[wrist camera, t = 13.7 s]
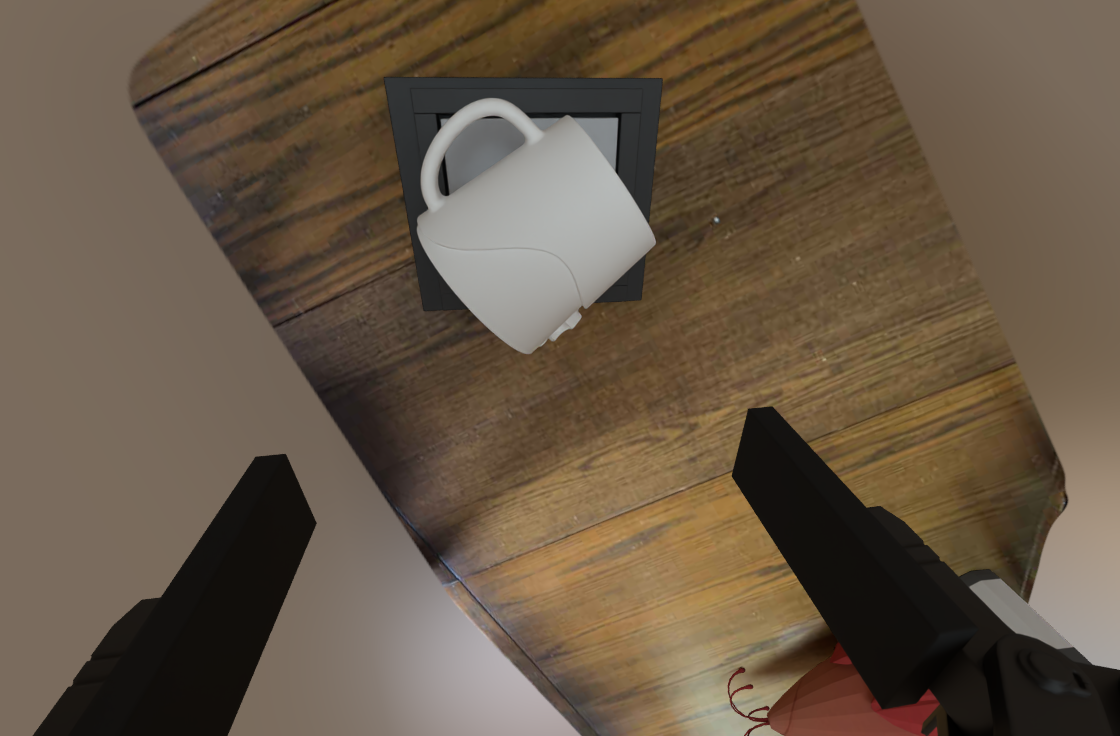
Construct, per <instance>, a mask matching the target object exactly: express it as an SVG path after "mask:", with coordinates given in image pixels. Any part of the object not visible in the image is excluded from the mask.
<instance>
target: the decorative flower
mask: <svg viewBox="0 0 1120 736" xmlns="http://www.w3.org/2000/svg"><path fill="white" fill-rule="evenodd" d="M744 672H745V668H740V669H739V670H738V671H736V672H735V673H734V674H733V675H732V676H731V678H730V679H729V683H728V694H729V685H730V682H731V680H732V678H733V677H734V676H735V675H737V674H738V673H744ZM752 688H753V686H752V685H750V684H749V685H746V686H744V687H741V688H739V689H737V690H735V691H734V692H733V693H732V695H731V697H730V694H729V698H730V703H731V707H732V708H733V709H734V707H735V705H734V704H733V702H732V696H733V695H734V694H735V693H736V692H738V691H740V690H743V689H752ZM732 704H733V706H734V707H733V706H732ZM939 704H940V703H939V702H938V700H937V699H936V698H935V696H934V695H933V694H932V692H931V691H930V690H929V689H928V690H927V692H926V693H925V694H924V695H923V696H922V697H921V699H920V700H919V701H918V702H917V703H916V704H911V705H905V706H900V707H894V708H888V709H883V710H882V709H881V707H880V705H879V704H878V702H877V701H876V699H875V698H874V696H873V695H872V693H871V691H870V690H869V688H868V687H867V685H866V684H865V682H864V681H863V679H862V678H861V676H860V674H859V673H858V671H857V670H856V668H855V667H854V665H853V664H852V662H851V660H850V659H849V657H848V656H847V654H846V653H845V651H844V650H843V648H842V647H841V645H840V643H839V642H838V643H837V644H836V646H835V647H834V653H833V655H832V656H831V657H830V658H828V659H826V660H825V661H823V662H821V663H820V664H818V665H817V666H816V667H814V668H813V669H812V670H810V671H809V672H808V673H807V674H805V675H804V676H803V677H801V678H800V679H799V680H798V681H797V682H796V683H795V684H794V685H793V686H792V687H791V688H790V689H789V690H788V691H787V692H786V693H784V694H783V696H782V697H781V698H780V699H779V700H778V701H777V702H776V703H775V704H774V705H773V706H772V708H771V709H770V708H769V707H768V706H765V707H763V708H759V709H756V710H753V711H751V712H750V713H749V715H748V716H745V715H744V714H743V713H741V712H740V711H739V710H738V709H737V708H736V707H735V709H736V710H737V711H738V712H737V711H736V710H735V709H734V710H735V712H737V713H738V714H740V715H741V716H743V717H746V718H749V719H750V720H752V721H755V722H765V723H762V724H759V725H756V726H754V727H753V728H751V729H749V730H748V731H747V732H746V734H745V735H744V736H746V735H747V733H748V735H747V736H749V734H750V732H751V731H752V730H753V729H755V728H758V727H761V726H763V725H770V726H771V728H772V729H773V730H775V731H777V732H778V733H780V734H782V735H784V736H926V735H924V734H922V733H921V730H922V725H923V722H924V721H925V720H926V719H927V718H928V717H929V716H930V714H931V713H932V712H933V711H934V710H935V709H936V708H937V707H938V706H939ZM769 709H770V711H769V712H768V713H767V717H768V718H755V717H749V716H750V715H751V714H752V713H754V712H756V711H760V710H767V711H768V710H769ZM753 719H755V720H753ZM928 736H938V734H937V727H936V728H935V729H934V730H933V731H932V732H931V733H930V734H929V735H928Z"/></svg>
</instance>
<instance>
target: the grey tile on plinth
mask: <svg viewBox="0 0 1120 736" xmlns="http://www.w3.org/2000/svg"><path fill="white" fill-rule="evenodd" d="M449 119H450V118H443V119H441V127H442V126H443V125H444V124H445V123H446V122H447V121H448V120H449ZM530 119H531V120H532V121H533V122H534V123H535V124H536V125H537V126H538V127H539V128H540V129H541V130H545V129H547V128H548V127H550V126H551V125H553V124H554V123H556V122H557V121H558V120H560V119H561V118H530ZM573 119H574V120H575V121H576V122H577V123H578V124H579V125H580V126H581V127H582V128H583V129H584V131H585V132H586V133H587V134H588V135H589V137H590V138H591V139H592V140H593V142H594V143H595V144H596V146H597V147H598V148H599V150H600V151H601V152H602V154H603V155H604V156H605V158H606V159H607V161H608V162H609V163H610V165H611V166H612V168H613V169H614V171H615V167H616V150H617V132H618V118H612V117H605V118H573ZM524 142H525V137H524V135H523V134H522V133H521V132H520V131H519V130H518V129H517V128H516V127H515V126H514V125H513V124H511V123H510V122H509V121H507V120H506V119H504V118H481V119H478V120H476V121H475V122H473V123H471V124H470V125H469V126H467V127H466V128H465V129H464V130H463V131H462V132H461V133H460V134H459V135H458V136H457V137H456V138H455V140H454V141H453V142H452V144H451V145H450V147H449V148H448V150H447V152H446V154H445V160H446V168H447V177H448V185H449V193H450V194H452V193H453V192H455V191H456V190H458V189H459V188H460V187H462V186H463V185H465V184H466V183H468V182H469V181H471V180H472V179H474V178H475V177H477V176H478V175H479V174H481V173H482V172H484V171H485V170H487V169H488V168H490V167H491V166H493V165H494V164H496V163H497V162H499V161H500V160H501V159H503V158H504V157H506V156H507V155H509V154H510V153H512V152H513V151H515V150H516V149H517V148H519V147H520V146H522V145H523V144H524Z"/></svg>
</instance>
